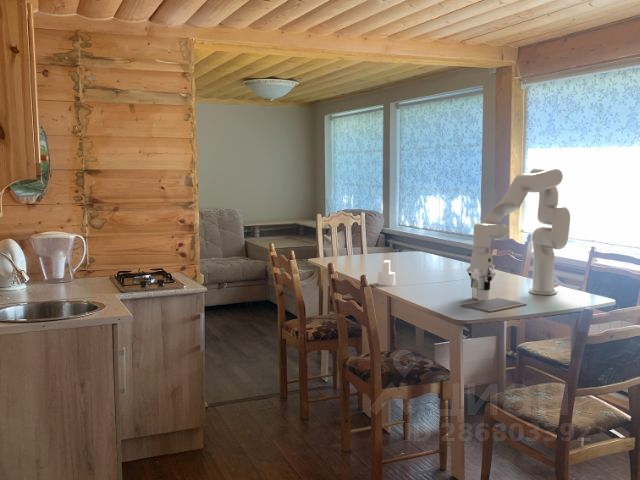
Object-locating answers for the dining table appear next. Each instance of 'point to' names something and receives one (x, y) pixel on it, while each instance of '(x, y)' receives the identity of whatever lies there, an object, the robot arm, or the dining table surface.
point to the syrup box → (479, 285)
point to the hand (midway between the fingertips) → (480, 288)
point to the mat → (493, 304)
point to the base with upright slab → (386, 275)
